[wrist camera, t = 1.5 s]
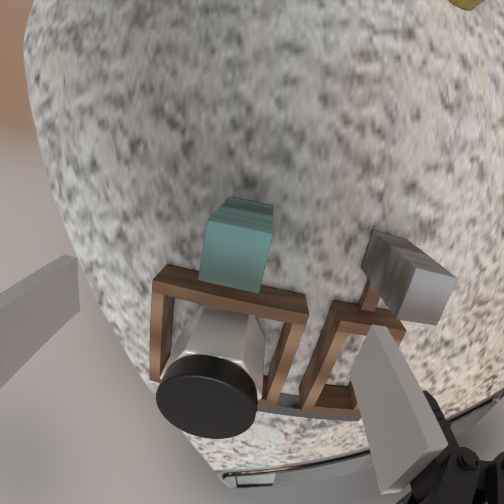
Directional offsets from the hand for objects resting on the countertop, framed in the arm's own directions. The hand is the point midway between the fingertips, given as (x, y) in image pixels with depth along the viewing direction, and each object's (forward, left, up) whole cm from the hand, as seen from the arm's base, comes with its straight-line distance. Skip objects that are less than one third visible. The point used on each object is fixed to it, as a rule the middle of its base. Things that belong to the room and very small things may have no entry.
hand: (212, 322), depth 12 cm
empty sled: (+8, +14, -17) cm, 24 cm away
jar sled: (+8, 0, -17) cm, 19 cm away
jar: (+12, 0, -18) cm, 21 cm away
